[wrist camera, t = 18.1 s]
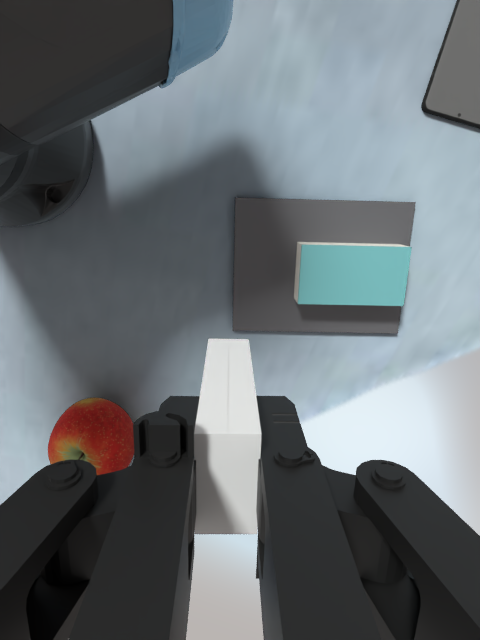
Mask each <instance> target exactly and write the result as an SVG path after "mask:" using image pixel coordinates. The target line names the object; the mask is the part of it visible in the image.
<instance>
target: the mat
mask: <svg viewBox="0 0 480 640" xmlns="http://www.w3.org/2000/svg"><path fill="white" fill-rule="evenodd" d="M415 203H416V202H383V201H344V200H306V199H267V198H235V244H234V291H233V331H285V332H346V333H398V327H399V320H400V312H401V306H375V305H321V304H298V303H297V302H296V300H295V299H294V286H295V270H296V254H297V242H327V243H370V244H401V245H405V246H410V239H411V232H412V224H413V217H414V210H415Z"/></svg>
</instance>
